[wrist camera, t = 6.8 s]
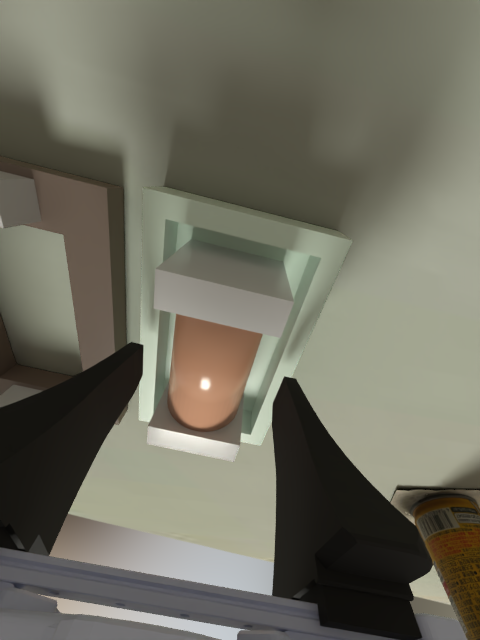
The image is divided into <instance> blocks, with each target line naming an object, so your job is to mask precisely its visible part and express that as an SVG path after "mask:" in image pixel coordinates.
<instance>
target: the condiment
mask: <svg viewBox="0 0 480 640" xmlns="http://www.w3.org/2000/svg"><path fill="white" fill-rule="evenodd" d="M426 494H427V495H426ZM390 503H391V504H392V505H393V506H394V507H395V508H397V509H398V510H399V511H400V512H401V513H402V514H403V515H404V516H405V517H406V518H408V519H409V520H410V521H411V522H412V523H413V524H414V525H415V526H416V527H417V529H418V531H419V533H420V535H421V537H422V539H423V541H424V544H425V546H426V548H427V550H428V552H429V555H430V557H431V559H432V562H433V565H434V567H435V569H436V571H437V573H438V576H439V578H440V581H441V582H442V585H443V587H444V589H445V591H446V593H447V595H448V598H449V600H450V602H451V605H452V607H453V609H454V612H455V613H456V616H457V618H458V620H459V622H460V625H461V627H462V629H463V631H464V634H465V636H466V638H467V640H480V490H459V489H457V490H453V489H450V490H440V491H433V490H411V491H405V490H397V491H396V493H395V494H394V496H393V498H392V501H391V502H390ZM405 512H406V513H407V514H406V513H405ZM409 514H410V515H409Z"/></svg>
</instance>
